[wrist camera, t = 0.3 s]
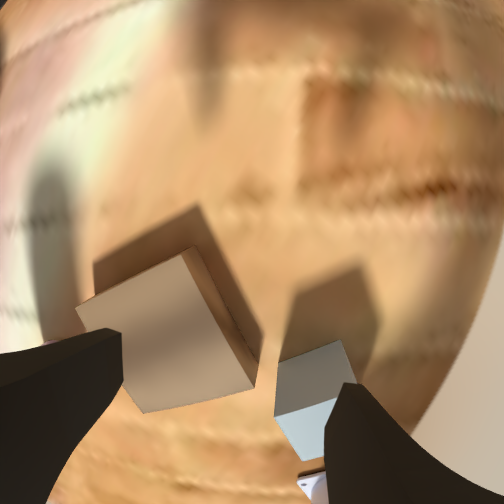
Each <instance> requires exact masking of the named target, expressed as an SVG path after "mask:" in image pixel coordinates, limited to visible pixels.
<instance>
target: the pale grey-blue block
mask: <svg viewBox="0 0 504 504" xmlns="http://www.w3.org/2000/svg"><path fill="white" fill-rule="evenodd" d="M344 382H347V383H356V384H358V383H357V381H356V378H355V375H354V373H353V370H352V367H351V365H350V362H349V360H348V357H347V354H346V352H345V349H344V347H343V344H342V342H341V339H340V340H338V341H335V342H333V343H330V344H328V345H325V346H322V347H320V348H317V349H315V350H312V351H309V352H307V353H304V354H301V355H299V356H296V357H293V358H290V359H288V360H285V361H282V362H279V363H278V372H277V385H276V397H275V409H274V419H275V420H276V422H277V423H278V425H279V426H280V428H281V430H282V431H283V433H284V434H285V436H286V437H287V439H288V440H289V442H290V443H291V445H292V446H293V448H294V450H295V451H296V453H297V454H298V456H299V457H300V458H301V460H302V461H307V460H310V459H314V458H318V457H322V456H324V427H325V425H326V423H327V420H328V418H329V416H330V414H331V411H332V409H333V407H334V404H335V402H336V400H337V397H338V395H339V393H340V390H341V388H342V385H343V383H344Z"/></svg>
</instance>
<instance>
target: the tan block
mask: <svg viewBox="0 0 504 504" xmlns="http://www.w3.org/2000/svg"><path fill="white" fill-rule="evenodd" d="M75 310H76V311H77V313H78V315H79V317H80V319H81V321H82V322H83V324H84V326H85V328H86V329H87V331H88V332H91V331H94V330H98V329H102V328H109V329H112V330H115V331H118V332H121V333H122V358H123V376H124V381H123V383H122V386H123V387H124V389H125V390H126V392H127V393H128V394H129V396H130V397H131V398H132V400H133V401H134V403H135V404H136V405H137V407H138V408H139V409H140V410H141V412H142V413H143V414H144V413H150V412H156V411H161V410H167V409H172V408H177V407H182V406H186V405H191V404H195V403H200V402H204V401H208V400H213V399H217V398H221V397H224V396H228V395H232V394H236V393H239V392H243V391H247V390H250V389H254V388H255V382H256V377H257V371H258V366H259V365H258V363H257V361H256V360H255V358H254V356H253V354H252V352H251V351H250V349H249V347H248V345H247V343H246V342H245V340H244V338H243V336H242V334H241V332H240V331H239V329H238V327H237V325H236V323H235V321H234V319H233V318H232V316H231V314H230V312H229V310H228V308H227V306H226V304H225V302H224V300H223V299H222V297H221V295H220V293H219V291H218V289H217V287H216V285H215V283H214V281H213V279H212V277H211V275H210V273H209V271H208V269H207V267H206V266H205V264H204V262H203V260H202V258H201V256H200V254H199V252H198V250H197V248H196V245H194V246H192V247H190V248H188V249H186V250H184V251H182V252H180V253H178V254H176V255H174V256H172V257H170V258H168V259H166V260H164V261H162V262H160V263H158V264H156V265H154V266H152V267H150V268H148V269H146V270H144V271H142V272H140V273H138V274H136V275H134V276H132V277H130V278H128V279H126V280H124V281H122V282H120V283H118V284H116V285H114V286H112V287H110V288H108V289H106V290H104V291H102V292H100V293H99V294H97V295H95V296H93V297H92V298H90V299H88V300H87V301H85V302H83V303H82V304H80V305H79V306H77V307H75Z"/></svg>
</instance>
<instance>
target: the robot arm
mask: <svg viewBox="0 0 504 504" xmlns="http://www.w3.org/2000/svg"><path fill="white" fill-rule="evenodd" d="M123 381H124V376H123V358H122V333H121V332H118V331H115V330H112V329H109V328H102V329H98V330H94V331H91V332H87V333H84V334H81V335H78V336H74V337H71V338H68V339H65V340H61V341H58V342H55V343H51V344H47V345H43V346H39V347H35V348H31V349H27V350H22V351H17V352H10V353H3V354H0V504H46V502H47V499H48V497H49V495H50V492H51V490H52V488H53V486H54V484H55V482H56V480H57V478H58V476H59V475H60V473H61V471H62V469H63V467H64V466H65V464H66V462H67V460H68V459H69V457H70V455H71V454H72V452H73V451H74V449H75V448H76V446H77V445H78V444H79V442H80V441H81V440H82V439H83V437H84V436H85V435H86V434H87V432H88V431H89V430H90V429H91V427H92V426H93V425H94V424H95V422H96V421H97V420H98V419H99V417H100V416H101V415H102V414H103V412H104V411H105V410H106V409H107V407H108V406H109V405H110V403H111V402H112V400H113V399H114V397H115V395H116V394H117V392H118V390H119V388H120V387H121V385H122V383H123ZM324 461H325V471H324V472H320V473H316V474H312V475H308V476H303V477H299V478H298V479H297V484H298V485H299V486H300V488H301V489H302V490H303V491H304V493H305V494H306V495H307V496H308V498H309V499H310V500H311V504H504V496H502V495H499V494H496V493H494V492H492V491H490V490H487V489H485V488H482V487H480V486H478V485H476V484H474V483H472V482H471V481H469V480H467V479H465V478H464V477H462V476H460V475H459V474H457V473H455V472H454V471H452V470H451V469H449V468H448V467H446V466H445V465H443V464H442V463H441V462H439V461H438V460H437V459H435V458H434V457H433V456H432V455H430V454H429V453H428V452H427V451H426V450H424V449H423V448H422V447H421V446H420V445H419V444H418V443H417V442H416V441H414V440H413V439H412V438H411V437H410V436H409V435H408V434H407V433H406V432H405V431H404V430H403V429H402V428H401V427H400V426H399V425H398V424H397V422H396V421H395V420H394V419H393V418H392V417H391V416H390V415H389V414H388V413H387V411H386V410H385V409H384V408H383V407H382V406H381V405H380V404H379V402H378V401H377V400H376V399H375V398H374V397H373V396H372V394H371V393H370V392H369V391H368V390H367V389H366V388H365V387H364V386H363V385H362V384H356V383H347V382H344V383H343V385H342V388H341V390H340V393H339V395H338V397H337V400H336V402H335V404H334V407H333V409H332V411H331V414H330V416H329V418H328V420H327V423H326V425H325V427H324Z"/></svg>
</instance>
